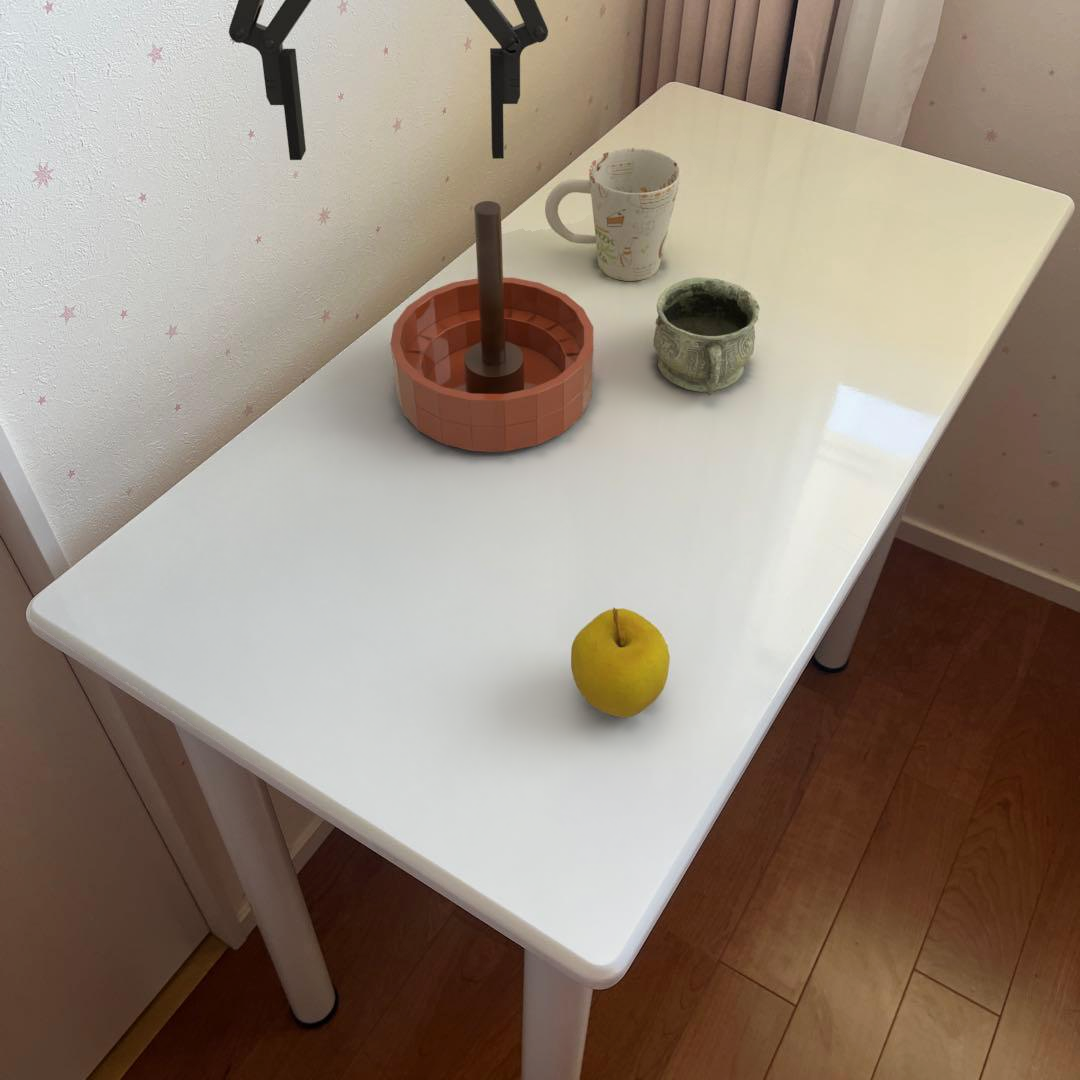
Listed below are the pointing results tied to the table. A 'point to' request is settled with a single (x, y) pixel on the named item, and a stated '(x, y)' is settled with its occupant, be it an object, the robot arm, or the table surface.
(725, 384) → the vessel
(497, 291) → the brown joystick
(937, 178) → the table surface
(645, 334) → the table surface
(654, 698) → the apple
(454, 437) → the bowl
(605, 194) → the mug
